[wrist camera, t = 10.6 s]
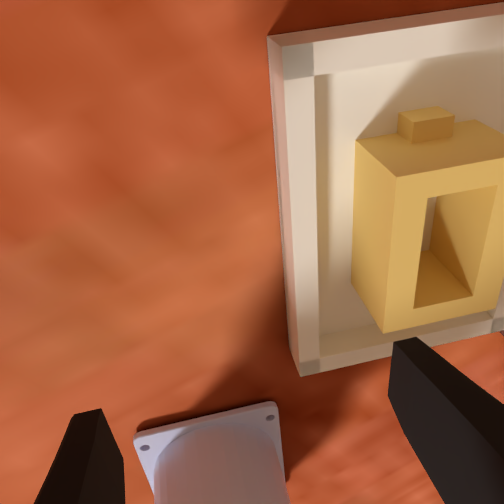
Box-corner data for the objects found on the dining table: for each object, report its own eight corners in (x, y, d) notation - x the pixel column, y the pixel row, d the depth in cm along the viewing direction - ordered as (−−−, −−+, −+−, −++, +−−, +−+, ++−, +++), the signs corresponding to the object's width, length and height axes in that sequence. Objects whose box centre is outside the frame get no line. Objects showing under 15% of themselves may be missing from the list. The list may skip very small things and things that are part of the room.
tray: (484, 304, 26) (507, 329, 24) (289, 347, 24) (300, 377, 23) (559, -7, 17) (603, -1, 16) (266, 36, 16) (281, 46, 14)
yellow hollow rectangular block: (355, 119, 18) (398, 154, 15) (478, 98, 18) (543, 128, 15) (350, 295, 22) (381, 347, 20) (447, 275, 23) (491, 322, 20)
